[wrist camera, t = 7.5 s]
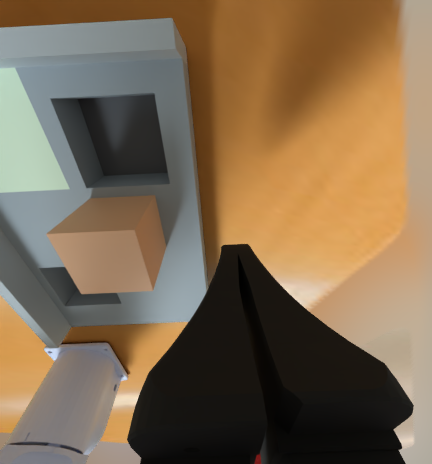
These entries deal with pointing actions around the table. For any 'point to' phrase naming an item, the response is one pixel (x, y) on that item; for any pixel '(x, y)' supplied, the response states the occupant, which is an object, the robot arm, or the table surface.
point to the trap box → (96, 165)
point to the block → (112, 244)
